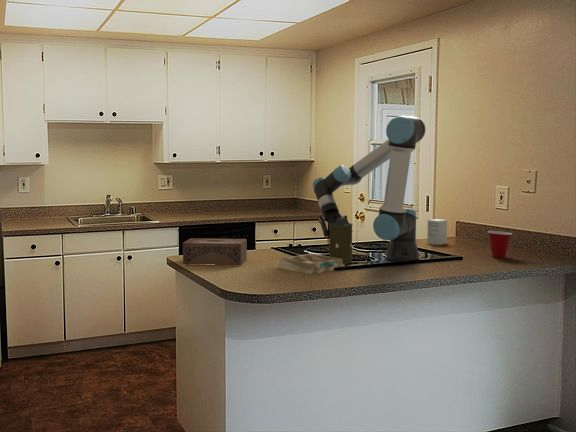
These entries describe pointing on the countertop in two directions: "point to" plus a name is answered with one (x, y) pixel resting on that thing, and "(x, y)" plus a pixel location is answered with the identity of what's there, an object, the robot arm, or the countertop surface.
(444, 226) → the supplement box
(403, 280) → the countertop surface
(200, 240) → the tissue box cover
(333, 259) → the square tray
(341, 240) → the canister
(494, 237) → the plastic cup
